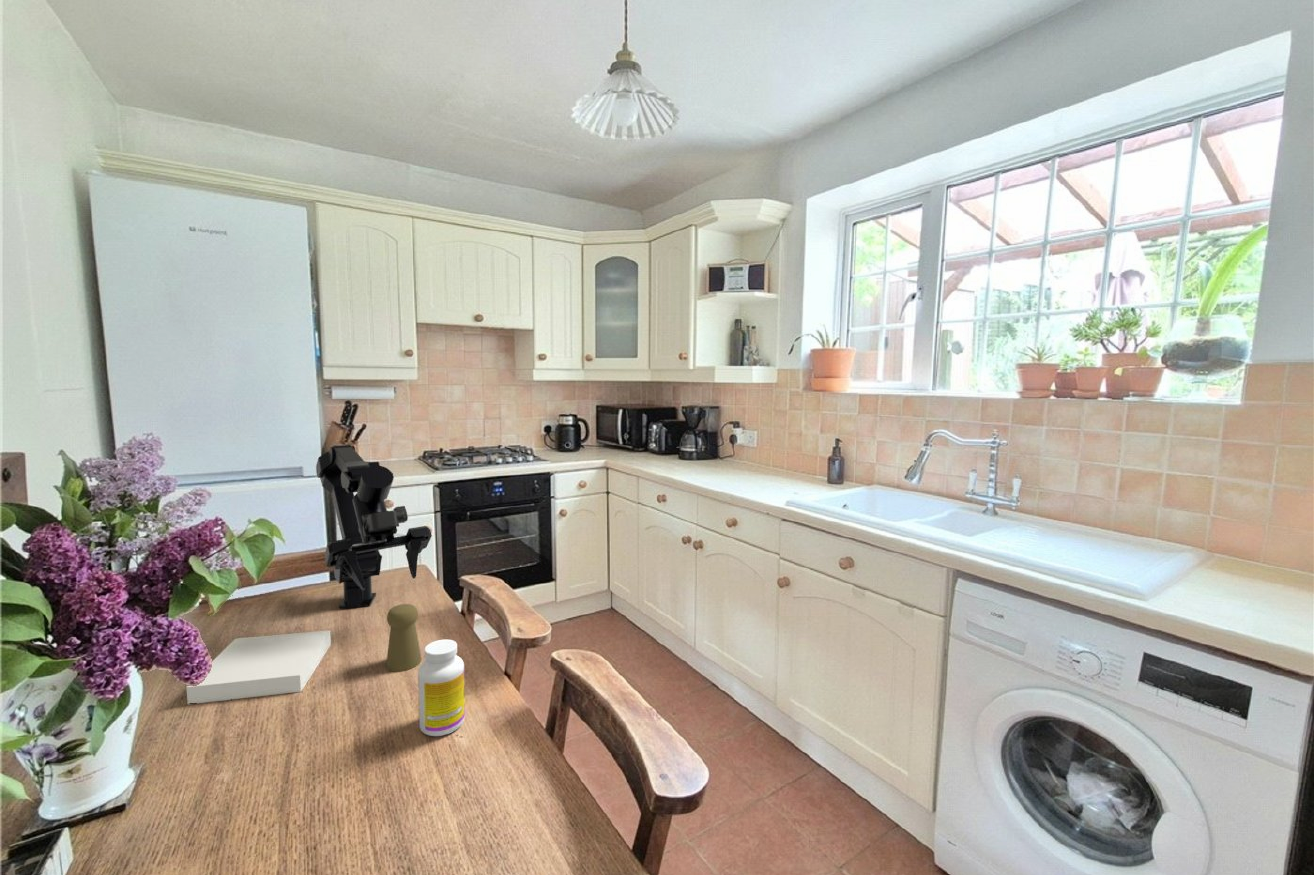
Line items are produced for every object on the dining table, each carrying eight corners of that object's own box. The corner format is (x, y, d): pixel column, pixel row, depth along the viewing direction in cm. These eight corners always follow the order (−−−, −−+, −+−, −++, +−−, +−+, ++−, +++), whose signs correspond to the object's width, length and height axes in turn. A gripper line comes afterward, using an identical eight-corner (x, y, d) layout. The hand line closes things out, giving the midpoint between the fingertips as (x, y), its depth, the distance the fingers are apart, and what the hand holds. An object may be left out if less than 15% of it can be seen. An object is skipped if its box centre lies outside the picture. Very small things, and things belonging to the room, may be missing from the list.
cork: (427, 655, 103) (426, 601, 101) (410, 673, 97) (408, 615, 95) (398, 653, 103) (396, 599, 102) (378, 670, 97) (376, 613, 96)
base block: (236, 653, 101) (235, 638, 101) (331, 644, 105) (330, 630, 105) (187, 704, 86) (186, 687, 85) (300, 691, 90) (300, 675, 90)
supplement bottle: (472, 724, 83) (472, 647, 82) (431, 745, 79) (429, 663, 77) (452, 705, 88) (451, 631, 86) (412, 723, 83) (410, 646, 82)
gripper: (324, 500, 99) (341, 575, 93) (427, 488, 112) (448, 553, 105) (318, 531, 106) (333, 602, 99) (416, 516, 119) (434, 579, 112)
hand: (389, 583), depth 104 cm, fingers open, 9 cm apart
